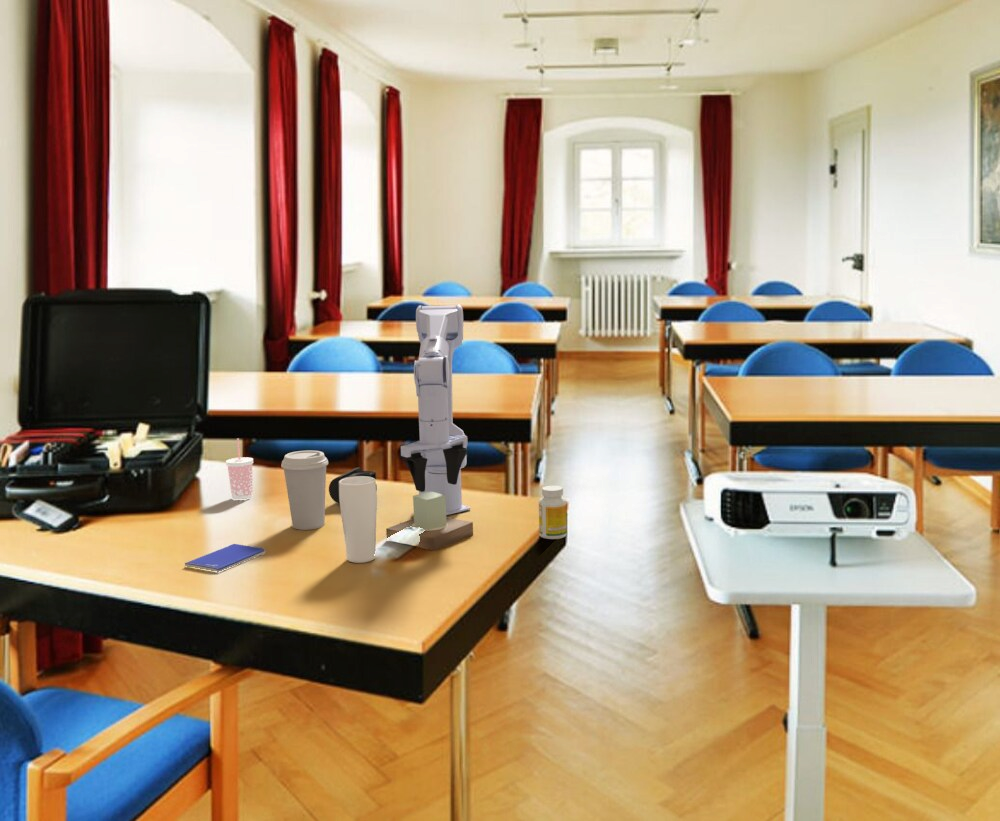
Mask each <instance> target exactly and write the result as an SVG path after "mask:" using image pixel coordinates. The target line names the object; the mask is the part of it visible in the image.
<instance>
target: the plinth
mask: <svg viewBox="0 0 1000 821" xmlns="http://www.w3.org/2000/svg"><path fill="white" fill-rule="evenodd" d="M446 523H447V525H446V526H442V527H438V528H434V529H430V530H426V529H424V530H425V531H424V532H423V533H421V534H419V536H420V542H419V545H418V546H419V547H420V548H419V547H418V548H419V549H424V550H429V549H430V551H437V550H440V549H442V548H445V547H447V546H448V545H449V546H450V545H451V544H454V543H456V542H458V541H460V540H464V539H465V538H468V537H470V536H473V535H474V522H473V521H468V520H463V519H459V518H458V519H456V518H451V517H446ZM410 526H412V527H418V526H415V525H414V517H413V518H411V519H409V520H406V521H403V522H400V523H397V524H396V525H395V524H394V525H393V526H389V527H387V528H386V529H385V531H386V539H387V538H388V537H390V536H391V535H393V534H395V533H397V532H399V531H401V530H403V529H404V528H406V527H410ZM420 528H421V527H420Z"/></svg>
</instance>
